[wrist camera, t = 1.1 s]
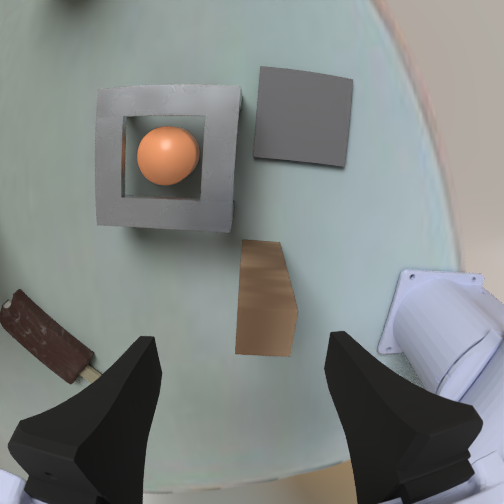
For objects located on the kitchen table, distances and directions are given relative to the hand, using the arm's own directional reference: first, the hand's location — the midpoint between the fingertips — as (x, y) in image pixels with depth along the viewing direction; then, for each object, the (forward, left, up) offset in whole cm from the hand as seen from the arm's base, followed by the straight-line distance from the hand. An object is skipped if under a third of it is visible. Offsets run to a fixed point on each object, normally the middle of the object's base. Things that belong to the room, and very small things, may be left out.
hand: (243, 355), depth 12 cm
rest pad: (-3, -10, -11) cm, 15 cm away
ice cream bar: (+17, +11, -11) cm, 23 cm away
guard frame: (+5, -7, -11) cm, 14 cm away
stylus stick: (-1, 0, -11) cm, 11 cm away
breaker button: (+5, -7, -11) cm, 14 cm away
